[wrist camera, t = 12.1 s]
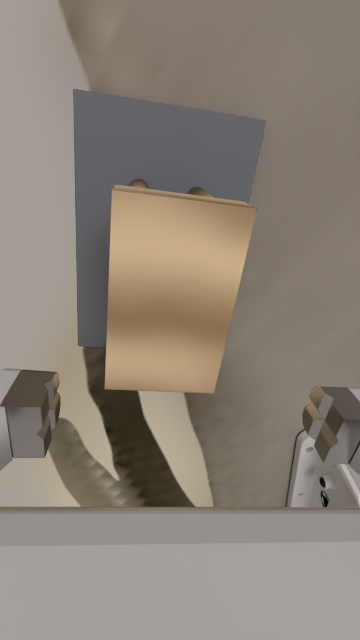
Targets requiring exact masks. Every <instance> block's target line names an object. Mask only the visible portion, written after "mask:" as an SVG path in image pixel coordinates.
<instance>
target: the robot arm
mask: <svg viewBox="0 0 360 640" xmlns="http://www.w3.org/2000/svg"><path fill="white" fill-rule="evenodd" d="M58 386H59V374H58V373H57V372H49V371H48V372H47V371H35V370H20V369H3V370H2V371H1V372H0V470H2V469H3V468H4V467H5V466H6V465H7V464H8V463H9V462H10V461H11V460H12V458H44V457H45V456H46V453H47V450H48V447H49V444H50V442H51V430H52V429H53V428H55V427H56V424H57V421H58V417H59V411H60V395H59V394H58V393H57V389H58ZM309 396H310V398H311V402H310V403H309V404H307V405H306V406H305V408H304V411H303V426H304V429H305V431H303V432H302V433H301V434H299V436H298V437H297V442H296V449H295V455H294V462H293V468H292V475H291V481H290V488H289V494H288V501H287V507H0V640H360V388H359V387H324V386H315V387H314V388H313V389H312V390H311V393H310V395H309Z"/></svg>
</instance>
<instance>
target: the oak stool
mask: <svg viewBox="0 0 360 640" xmlns="http://www.w3.org/2000/svg"><path fill="white" fill-rule="evenodd" d="M256 212H257V209H256V208H255V207H253V206H251V205H249V204H247V203H246V202H243V201H235V200H228V199H220V198H214V197H213V196H212V195H210V194H209V193H208V192H206V191H205V190H204V189H202V188H201V187H193V188H191V189H190V190H189V191H188V193H187V194H183V193H175V192H168V191H160V190H152V189H149V186H148V184H147V183H146V182H145V181H144V180H142V179H134V180H133V181H132V182H131V183H130V184H129V186H122V185H115V186H114V188H113V189H112V201H111V229H110V257H109V285H108V313H107V341H106V369H105V389H115V390H140V391H166V392H190V393H214V391H215V387H216V382H217V378H218V374H219V370H220V365H221V361H222V357H223V353H224V348H225V344H226V340H227V335H228V331H229V327H230V323H231V318H232V314H233V310H234V306H235V301H236V297H237V293H238V288H239V284H240V280H241V276H242V271H243V267H244V263H245V259H246V254H247V250H248V246H249V241H250V237H251V233H252V229H253V224H254V220H255V216H256Z"/></svg>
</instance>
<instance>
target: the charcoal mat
mask: <svg viewBox="0 0 360 640" xmlns="http://www.w3.org/2000/svg"><path fill="white" fill-rule="evenodd" d="M73 99H74V149H75V150H74V151H75V152H74V153H75V207H76V259H77V260H76V261H77V314H78V346H88V347H106V341H107V313H108V285H109V257H110V229H111V201H112V189H113V188H114V186H115V185H122V186H129V184H130V183H131V182H132V181H133V180H134V179H142V180H144V181H145V182H146V183H147V184H148V186H149V189H152V190H160V191H168V192H175V193H183V194H187V193H188V191H189V190H190V189H191V188H193V187H201V188H202V189H204V190H205V191H206V192H208V193H209V194H210V195H212V196H213V197H214V198H220V199H228V200H235V201H243V202H246V203H247V204H248V203H249V198H250V193H251V189H252V184H253V179H254V175H255V170H256V165H257V161H258V156H259V152H260V147H261V142H262V138H263V133H264V128H265V124H266V121H265V120H259V119H253V118H247V117H241V116H235V115H229V114H223V113H217V112H211V111H205V110H198V109H192V108H186V107H180V106H174V105H168V104H162V103H156V102H150V101H144V100H138V99H132V98H126V97H120V96H114V95H108V94H102V93H96V92H90V91H83V90H78V89H73Z"/></svg>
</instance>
